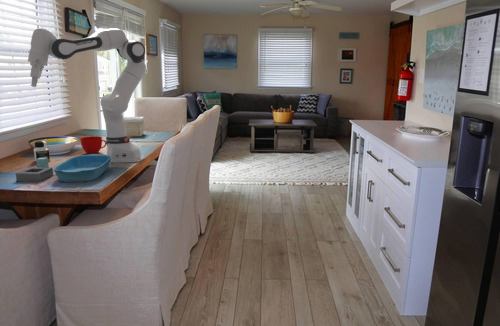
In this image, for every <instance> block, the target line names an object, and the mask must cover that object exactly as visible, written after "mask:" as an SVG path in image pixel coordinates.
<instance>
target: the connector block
mask: <svg viewBox="0 0 500 326" xmlns="http://www.w3.org/2000/svg"><path fill="white" fill-rule="evenodd" d="M35 162H36V167H41V168H50V166H49V161H48V158H38V159H36V161H35Z"/></svg>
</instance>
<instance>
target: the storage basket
mask: <svg viewBox="0 0 500 326" xmlns="http://www.w3.org/2000/svg"><path fill="white" fill-rule="evenodd" d="M123 119H124V121H125V127H126V136H128V137H130V138H131V137H135V138H136V137H142V136H143V135H144V134H145V133H144V132H145V131H144V130H145V129H144V127H145V126H144V123H145V122H144V121H145V117H144V116H123Z"/></svg>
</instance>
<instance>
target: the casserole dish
mask: <svg viewBox="0 0 500 326" xmlns="http://www.w3.org/2000/svg"><path fill="white" fill-rule="evenodd" d="M110 166H111V156H108V155H107V154H98V153H97V154H83V155H76V156H72V157H70V158H68V159H66V160H65V161H63V162H61V163H59V164H57V165H56V166H55V167H52V168H53V172H54V173H55V176H57V179H59V181H61V182H69V183H70V182H71V183H72V182H73V183H74V182H78V183H79V182H91V181H94V180H95V179H98V178H99V177H100V176H101V175H102V174H104V172H106V171H107V170H108V169H109V168H110Z"/></svg>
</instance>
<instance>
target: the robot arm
mask: <svg viewBox="0 0 500 326" xmlns="http://www.w3.org/2000/svg"><path fill="white" fill-rule="evenodd" d="M30 40H31V41H30V49H29V51H28V52H29V53H28V57H27V62H29V63H30V66H31V69H30V74H29V75H30V77H31V84H30V86H31V87H32V88H36V87H37V84H38V81H39V80H40V79H41V76H42V73H43V69H44V68H45V67H46V66H48V61H49V56H51V57H53V58H55V59H59V60H68V59H70V58H71V57H73V56H74V55H75V54H78V53H81V52H82V53H83V52H86V51H96V52H105V51H111V50H116V51H117V54H118V56H119V57H121V58H122V59H124V60H127V62H126V66H125V67H124V69H123V70H122V72H121V73H120V75H119V77H118V78H117V80H116V81H115V85H114V88H113V90H112V91H111V93H106V94H104V95H103V96H102V97H101V98H100V103H99V104H100V106H101V110H102V115H103V118H104V122H105V129H106V136H105V139H106V140H105V141H106V143H107V144H106V151H107V152H106V155H108V156H111V162H110V164H111V163H112V164H117V163H138V162H141V161H144V160H145V159H146V156H145V155H142V153H141V150H140V148H139V147H138V146H136V145H135V144H134V143H132V142H131V141H130V140H131V137H128V136H126V127H125V121H124V119H123V117H124V115H123V114H124V113H125V112H126V111H127V110H128V108H129V103H130V100H131V98H132V96H133V93H134V92H135V90H136V88H137V86H139V84H140V82H141V81H142V78H143V76H145V72H146V70H147V66H146V64H145V62H144V60H145V55H146V48H145V45H144V44H143V43H142V42H141V41H139V40H131V39H128V38H127V35H126V33H125V31H123V29H121V28H106V29H101V30H98V31H94V32H92V33H91V34H90V35H89V36H88V37H83V38H79V39H72V40H70V39H67V38H58V36H56V35H55V34H54V33H53V32H52V31H51V30H50V29H48V28H47V29H46V28H36V29H34V30H33V32H32V34H31V39H30Z"/></svg>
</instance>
